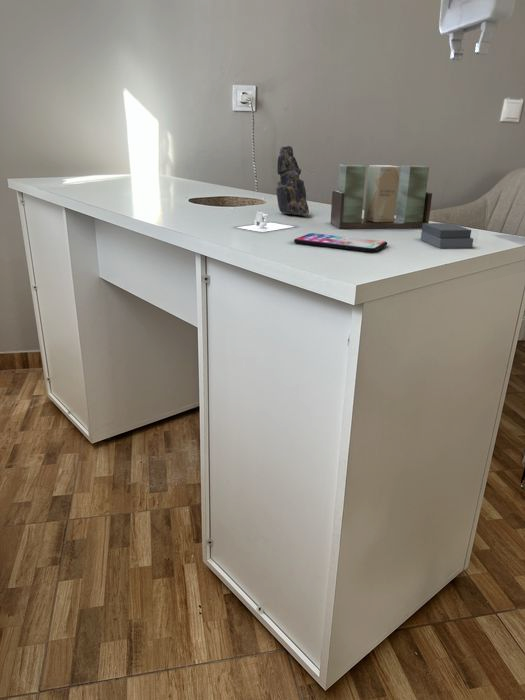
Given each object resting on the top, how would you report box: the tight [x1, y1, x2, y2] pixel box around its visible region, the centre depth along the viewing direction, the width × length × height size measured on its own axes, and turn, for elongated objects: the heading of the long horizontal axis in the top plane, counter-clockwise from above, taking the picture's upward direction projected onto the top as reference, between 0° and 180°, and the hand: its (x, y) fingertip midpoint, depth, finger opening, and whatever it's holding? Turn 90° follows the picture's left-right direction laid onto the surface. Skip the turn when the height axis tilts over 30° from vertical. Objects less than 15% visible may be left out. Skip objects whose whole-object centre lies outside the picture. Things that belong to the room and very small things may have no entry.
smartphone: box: [293, 232, 388, 253], centre depth 96 cm, size 8×1×15 cm
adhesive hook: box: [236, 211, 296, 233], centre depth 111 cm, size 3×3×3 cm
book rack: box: [330, 164, 433, 230], centre depth 115 cm, size 19×7×12 cm, turn 98°
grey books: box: [420, 222, 474, 249], centre depth 99 cm, size 6×8×3 cm
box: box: [363, 164, 401, 222], centre depth 114 cm, size 5×4×11 cm
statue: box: [275, 145, 310, 216], centre depth 128 cm, size 6×12×15 cm, turn 28°
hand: (468, 57), depth 100 cm, fingers open, 8 cm apart
